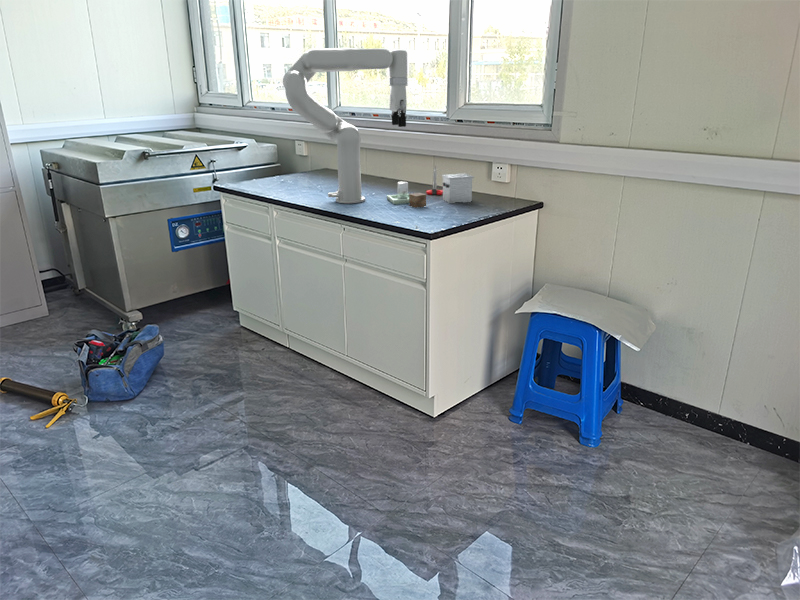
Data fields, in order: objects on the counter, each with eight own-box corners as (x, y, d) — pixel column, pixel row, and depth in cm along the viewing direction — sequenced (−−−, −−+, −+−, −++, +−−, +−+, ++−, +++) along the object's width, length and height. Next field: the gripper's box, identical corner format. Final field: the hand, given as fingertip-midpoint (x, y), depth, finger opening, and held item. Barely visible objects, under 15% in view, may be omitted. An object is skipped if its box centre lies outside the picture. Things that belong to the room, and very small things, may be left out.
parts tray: (393, 204, 241) (393, 200, 241) (386, 199, 251) (386, 195, 250) (418, 202, 244) (418, 198, 243) (411, 197, 254) (411, 193, 253)
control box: (448, 203, 242) (448, 178, 238) (441, 199, 250) (441, 174, 246) (472, 201, 244) (473, 176, 241) (464, 197, 252) (465, 173, 248)
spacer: (398, 200, 245) (398, 183, 242) (396, 198, 249) (396, 181, 246) (408, 200, 246) (409, 183, 243) (406, 197, 250) (406, 181, 247)
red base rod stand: (427, 192, 268) (424, 195, 260) (427, 163, 264) (425, 165, 256) (445, 192, 267) (443, 195, 258) (446, 163, 263) (444, 165, 254)
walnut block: (415, 208, 235) (415, 196, 233) (409, 206, 239) (409, 194, 237) (426, 206, 237) (426, 194, 236) (419, 204, 241) (419, 192, 240)
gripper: (384, 82, 244) (384, 124, 251) (395, 82, 229) (395, 127, 235) (401, 81, 246) (401, 123, 253) (413, 82, 231) (413, 127, 237)
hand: (398, 125), depth 244 cm, fingers open, 9 cm apart
